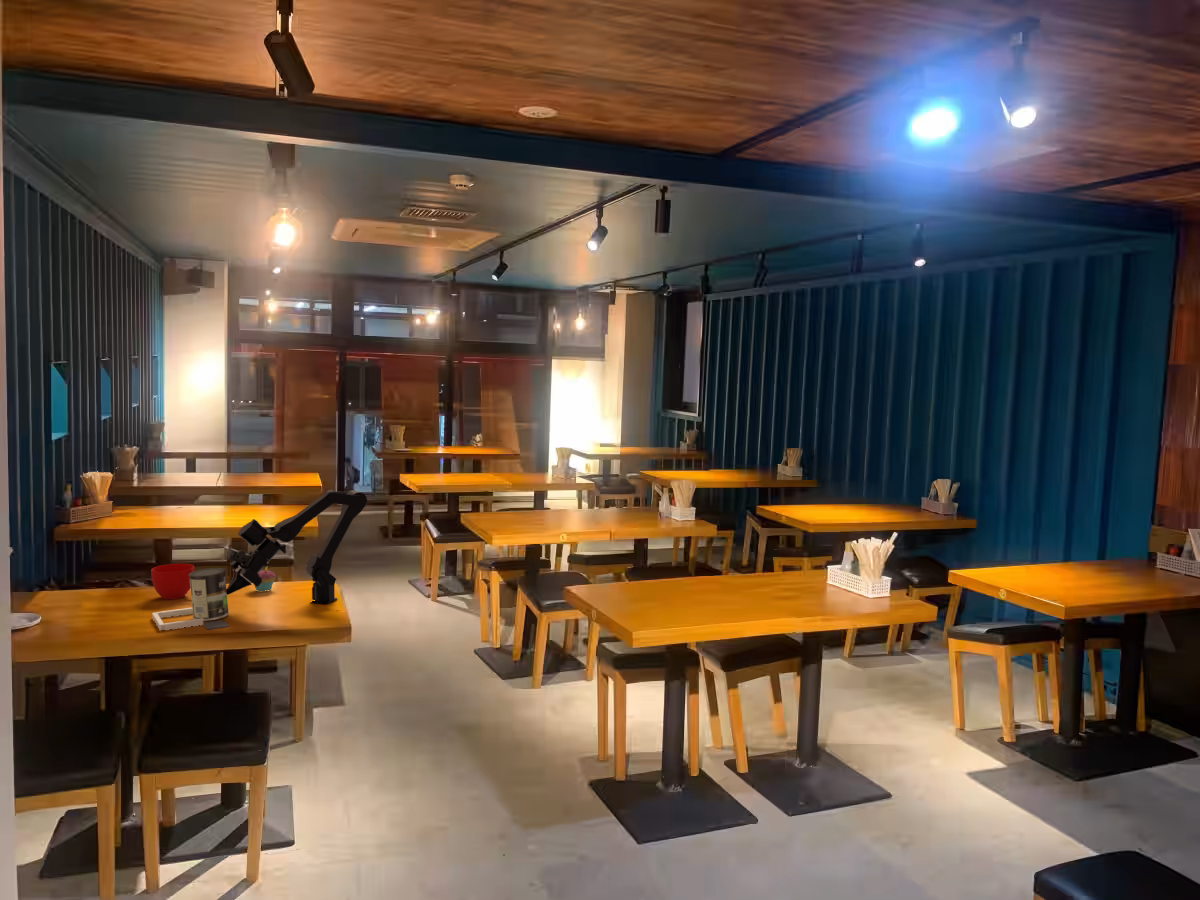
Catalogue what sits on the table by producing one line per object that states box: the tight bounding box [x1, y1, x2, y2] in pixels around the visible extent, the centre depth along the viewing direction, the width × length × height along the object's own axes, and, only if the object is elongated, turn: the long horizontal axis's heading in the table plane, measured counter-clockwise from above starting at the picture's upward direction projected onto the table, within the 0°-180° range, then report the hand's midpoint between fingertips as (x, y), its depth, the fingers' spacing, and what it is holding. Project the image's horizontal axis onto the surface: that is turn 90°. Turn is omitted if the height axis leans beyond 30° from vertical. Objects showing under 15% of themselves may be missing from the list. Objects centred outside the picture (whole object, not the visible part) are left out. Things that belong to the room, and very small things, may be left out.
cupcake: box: [253, 562, 277, 591], centre depth 301 cm, size 9×8×12 cm
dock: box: [151, 607, 204, 631], centre depth 264 cm, size 12×15×2 cm
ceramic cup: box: [150, 563, 195, 600], centre depth 291 cm, size 13×17×10 cm
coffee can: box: [189, 567, 230, 622], centre depth 268 cm, size 10×10×14 cm
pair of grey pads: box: [202, 619, 230, 631], centre depth 269 cm, size 6×27×1 cm, turn 35°
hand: (226, 593), depth 271 cm, fingers closed, pressing on coffee can
